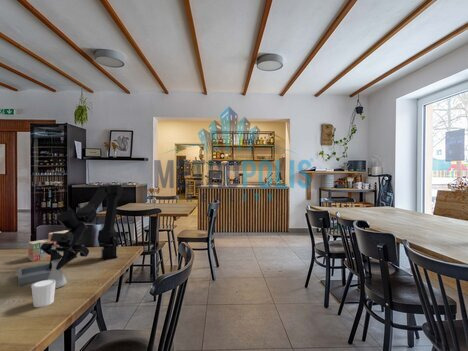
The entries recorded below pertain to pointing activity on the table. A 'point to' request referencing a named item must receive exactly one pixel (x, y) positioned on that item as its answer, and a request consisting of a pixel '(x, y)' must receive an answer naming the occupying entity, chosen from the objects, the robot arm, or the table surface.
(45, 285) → the white cup
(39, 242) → the stack of blocks
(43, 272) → the tray
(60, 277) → the light grey vase
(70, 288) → the table surface
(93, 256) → the table surface
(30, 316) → the table surface
